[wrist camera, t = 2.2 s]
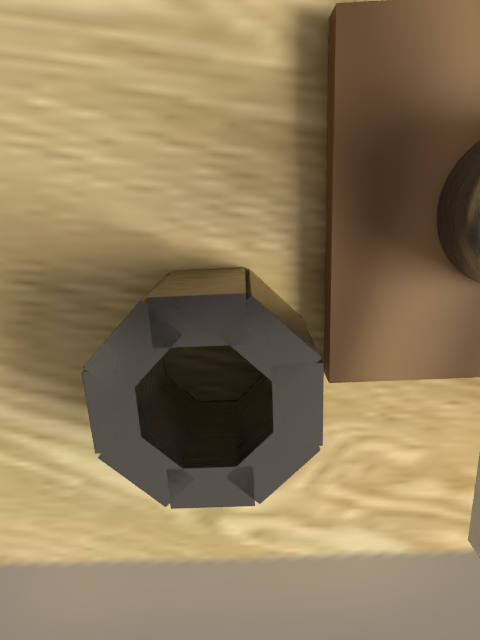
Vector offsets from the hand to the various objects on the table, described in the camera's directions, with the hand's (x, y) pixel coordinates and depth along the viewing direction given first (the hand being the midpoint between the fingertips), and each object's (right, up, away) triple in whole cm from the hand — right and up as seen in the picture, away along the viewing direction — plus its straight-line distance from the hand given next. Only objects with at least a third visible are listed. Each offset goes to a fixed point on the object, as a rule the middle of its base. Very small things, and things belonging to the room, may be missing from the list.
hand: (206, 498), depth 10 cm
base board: (+11, +9, +7) cm, 16 cm away
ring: (0, +3, +9) cm, 9 cm away
